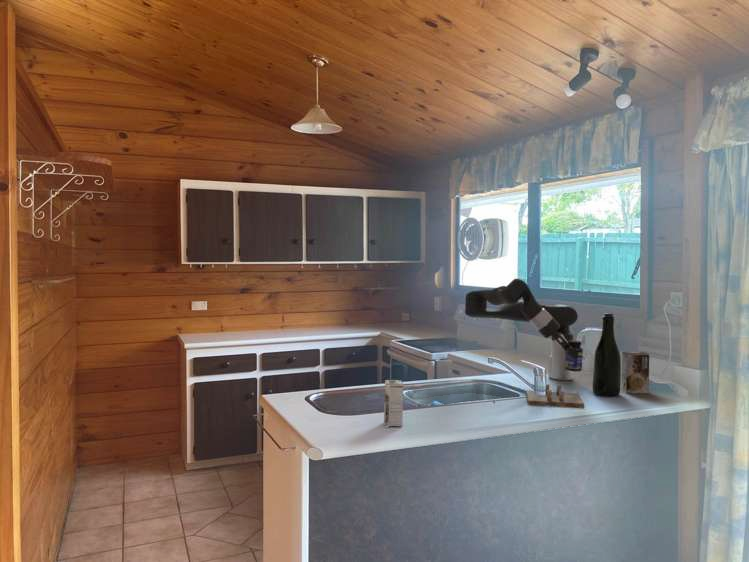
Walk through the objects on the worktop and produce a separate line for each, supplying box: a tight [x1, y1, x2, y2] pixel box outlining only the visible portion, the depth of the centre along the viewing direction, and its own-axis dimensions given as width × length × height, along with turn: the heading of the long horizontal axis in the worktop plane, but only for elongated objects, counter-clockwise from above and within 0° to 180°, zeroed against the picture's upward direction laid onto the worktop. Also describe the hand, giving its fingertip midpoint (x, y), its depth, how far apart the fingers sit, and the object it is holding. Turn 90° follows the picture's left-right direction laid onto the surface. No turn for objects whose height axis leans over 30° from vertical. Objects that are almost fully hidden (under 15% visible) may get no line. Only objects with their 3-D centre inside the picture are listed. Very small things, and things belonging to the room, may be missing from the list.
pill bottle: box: [565, 339, 584, 372], centre depth 224 cm, size 6×6×11 cm
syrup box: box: [383, 379, 404, 427], centre depth 196 cm, size 6×6×14 cm
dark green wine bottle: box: [592, 312, 622, 398], centre depth 238 cm, size 10×10×33 cm
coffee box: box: [620, 351, 650, 394], centre depth 243 cm, size 9×6×16 cm
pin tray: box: [525, 383, 585, 409], centre depth 228 cm, size 20×16×5 cm
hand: (575, 355), depth 224 cm, fingers closed on pill bottle, 6 cm apart
